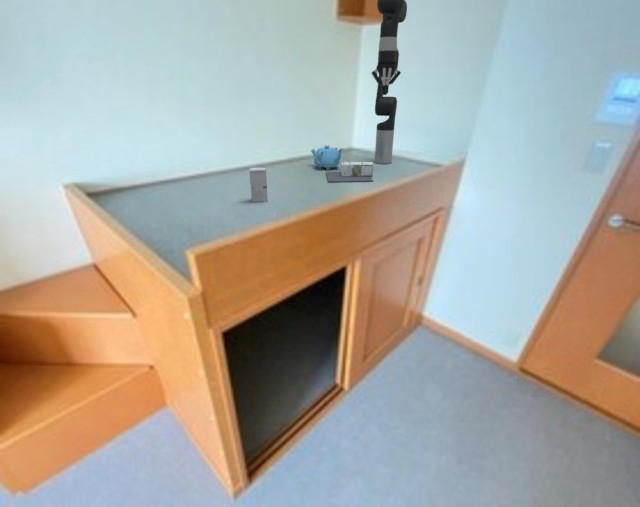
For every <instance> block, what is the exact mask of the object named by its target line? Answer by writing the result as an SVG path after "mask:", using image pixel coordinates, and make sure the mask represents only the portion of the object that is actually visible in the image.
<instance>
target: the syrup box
mask: <svg viewBox="0 0 640 507" xmlns="http://www.w3.org/2000/svg"><path fill="white" fill-rule="evenodd" d="M340 166H341V171H340V172H341V175H342V176H359V177H360V176H365V177H366V176H367V177H368V176H369V177H371V178H372V177H373V171H374V163H373V161H341V165H340Z"/></svg>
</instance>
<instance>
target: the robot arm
mask: <svg viewBox="0 0 640 507" xmlns="http://www.w3.org/2000/svg"><path fill="white" fill-rule="evenodd" d="M407 4H408V3H407V1H406V0H377V5H376V6H377V10H378V12H379V14H381V15H382V22H381V24H380V31H379V33H380V34H379V42H378V56H377V66H376V68H375V69H374V70H373V71H371V75H372V77H373V78H374V80H375V81H376V83H377V87H376V88H377V90H376V96H375V105H374V112H375V116H379V117H380V116H382V117H388V118H387V119H385V121H384V120H383V122H382V121H381V122H378V123H377V124H376V131H375V132H376V134H375V147H374V148H375V150H374V163H375V164H380V165H381V164H382V165H389V164H392V160H393V148H394V135H395V125H396V124H395V121H396V114H397V108H398V107H397V106H398V99H397V97H396V96H387V95H388V94H389V88H390V87H389V86H390V85H392V84H394V82H395V81H396V80H397V78H399V76H400V75H401V73H402V72H401V70H398V66H399V56H400V52H399V50H398V32H399V31H398V30H399V29H398V28H399V23H403V22H404V21H405V19H406V17H407V12H408V6H407Z"/></svg>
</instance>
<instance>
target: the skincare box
mask: <svg viewBox="0 0 640 507" xmlns="http://www.w3.org/2000/svg"><path fill="white" fill-rule="evenodd" d="M248 169H249V170H248V171H249V181H250V182H249V183H250V193H251V197H250V198H251V202H252V203H259V202H268V201H269V200H268V183H267V179H268V178H267V169H266V167H265V166H264V167H249V168H248Z"/></svg>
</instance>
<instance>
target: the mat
mask: <svg viewBox="0 0 640 507" xmlns="http://www.w3.org/2000/svg"><path fill="white" fill-rule="evenodd" d="M325 174H326V180H327V182H328V183H329V184H330V183H373V182H374V180H373V179H372V177H369V176H368V177H367V176H366V177H365V176H360V177H359V176H342V175H341V171H325Z"/></svg>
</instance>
